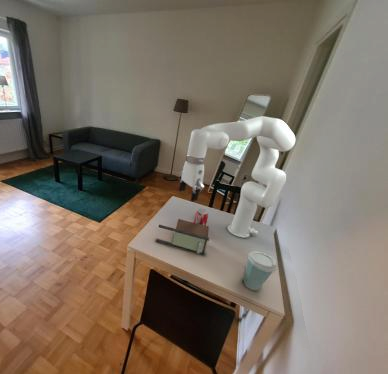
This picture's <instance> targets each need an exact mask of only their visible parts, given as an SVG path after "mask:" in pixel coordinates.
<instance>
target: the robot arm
mask: <svg viewBox="0 0 388 374" xmlns="http://www.w3.org/2000/svg"><path fill="white" fill-rule="evenodd" d="M253 138H256V141H257V143H258V145H259V154H258V155H259V156H258V158H257V160H256V162H255V165H254V167H253V169H252V171H251V178H252V179H253V180H255V181H256V182H255V181H247V182H244V183H243V184H242V186H241V189H240V197H239V201H238V203H237V207H236V210H235V213H234V216H233V219H232V221H231V223H230V224H228V225H227V231H228V232H230V234H231V235H234V236H235V237H238V238H243V239H246V238H249V237H250V236H251V234H254V235H258V233H259V231H258V230H256V229H255V228H254V227H251V225H252V223H253V220H254V217H255V215H256V212H257V209H258V206H259V207H262V208H265V209H268V208H271V207H272V206H273V205H274V204H275V203H276V201H277V200H278V197H279V195H280V193H281V192H282V189H283V188H284V186H285V183H286V181H287V174H286V172H285V171H284V170H282V169H279V168H277V167H276V165H277V162H278V160H279V157H280V152H288V151H290V150H291V149H292V148H293V147H294V146H295V144H296V136H295V134H294V132H293V131H292V130H291V128H290V127H289V125H288V124H287V123H286V122H285V121H283V120H282V119H280V118H276V117H270V116H264V115H263V116H256V117H255V116H254V117H252V118H249V119H245V120H240V121H232V122H231V121H230V122H220V123H213V124H209V125H206V126H203V127H202V128H200V129H199V128H196V129H193V130H192V131H191V133H190V137H189V143H188V147H187V153H186V159H185V161H184V164H183V167H182V171H179V187H178V192H184V191H186V188H187V186H189V187H191V188H192V192H191V196H190V201H191V202H195V201H198V199H199V194H200V193H201V192H203V190H204V189H205V185H204V183H203V181H204V178H205V177H204V176H205V165H204V164H205V160H206V155H207V151H208V149H211V150H215V151H218V150H223V149H225V148H227V146H228V145H229V143H230V141H232V142H244V141H247V140H250V139H253ZM257 182H258V183H257ZM259 183H260V184H259ZM261 184H263V185H261ZM264 185H265V186H264Z"/></svg>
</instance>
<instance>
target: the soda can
mask: <svg viewBox="0 0 388 374" xmlns="http://www.w3.org/2000/svg"><path fill="white" fill-rule="evenodd" d="M208 219H209V211H208V209H204V208H198V209H197V210H196V212H195V216H194V219H193V223H197V224H201V225H205V226H207V223H208Z"/></svg>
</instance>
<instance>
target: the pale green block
mask: <svg viewBox="0 0 388 374" xmlns="http://www.w3.org/2000/svg"><path fill="white" fill-rule="evenodd" d="M171 243H172V244H173V245H177V246H180V247H184V248H187V249H191V250H194V251H197V253H200V252H201V253H202V251H203V247H204V243H205V240H204V239H200V238H197V237H193V236H189V235H185V234H182V233H178V232H174V234H173V239H172V242H171Z"/></svg>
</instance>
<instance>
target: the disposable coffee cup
mask: <svg viewBox="0 0 388 374" xmlns="http://www.w3.org/2000/svg"><path fill="white" fill-rule="evenodd" d="M277 264H278V263H277V260H276V259H275V258H274V257H273V256H271V255H269V254H268V253H265V252H263V251H258V250H257V251H251V252H249V253H248V254H247V260H246V265H245V270H244V275H243V278H242V279H243V284H244V285H245V286H246V287H247V288H249V289H250V290H253V291H258V290H260V289H261V287H262V286H263V285H264V284H265V283H266V282H267V280H268V279H269V277H270V276H271V275H272V274H273V272H275V271H276V270H277V269H278V265H277Z"/></svg>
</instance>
